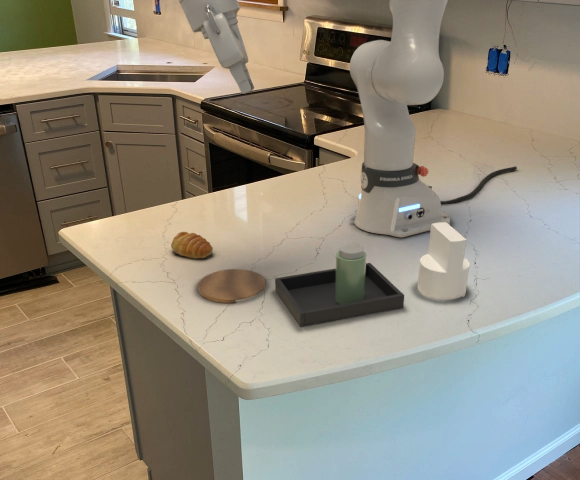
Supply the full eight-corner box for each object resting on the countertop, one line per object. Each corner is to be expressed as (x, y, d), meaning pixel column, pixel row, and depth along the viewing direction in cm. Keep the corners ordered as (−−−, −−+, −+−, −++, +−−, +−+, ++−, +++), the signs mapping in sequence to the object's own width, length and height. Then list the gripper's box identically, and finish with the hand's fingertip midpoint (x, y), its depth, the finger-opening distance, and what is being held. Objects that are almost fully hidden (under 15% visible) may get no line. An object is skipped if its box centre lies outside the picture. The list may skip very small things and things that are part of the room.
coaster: (255, 268, 129) (255, 265, 128) (273, 296, 118) (273, 292, 118) (192, 278, 125) (192, 274, 125) (206, 308, 115) (205, 304, 114)
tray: (369, 276, 124) (370, 262, 123) (403, 310, 113) (404, 295, 111) (275, 292, 119) (274, 278, 118) (300, 329, 107) (300, 314, 106)
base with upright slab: (473, 299, 116) (483, 238, 109) (428, 304, 114) (434, 243, 108) (453, 277, 123) (460, 220, 117) (410, 283, 122) (415, 224, 115)
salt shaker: (357, 290, 118) (359, 240, 113) (369, 303, 114) (371, 251, 108) (330, 295, 117) (331, 244, 111) (341, 308, 112) (343, 256, 107)
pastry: (220, 252, 136) (219, 236, 134) (198, 263, 131) (197, 247, 129) (190, 242, 141) (188, 226, 139) (168, 253, 136) (165, 236, 134)
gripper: (223, -7, 94) (263, 83, 99) (234, 7, 113) (267, 83, 117) (186, 13, 95) (227, 101, 99) (202, 24, 114) (236, 98, 118)
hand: (248, 91), depth 109 cm, fingers open, 8 cm apart
